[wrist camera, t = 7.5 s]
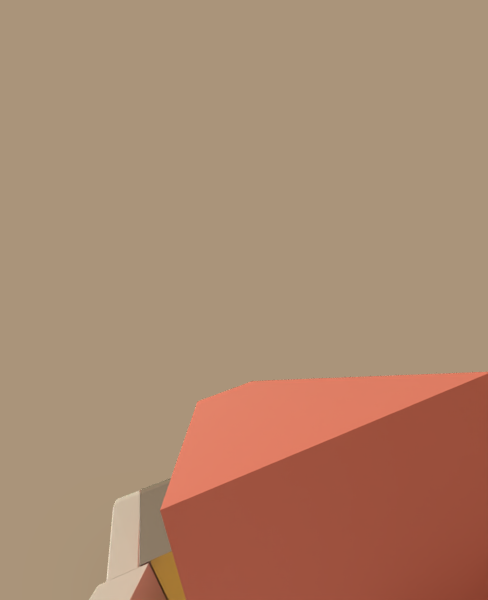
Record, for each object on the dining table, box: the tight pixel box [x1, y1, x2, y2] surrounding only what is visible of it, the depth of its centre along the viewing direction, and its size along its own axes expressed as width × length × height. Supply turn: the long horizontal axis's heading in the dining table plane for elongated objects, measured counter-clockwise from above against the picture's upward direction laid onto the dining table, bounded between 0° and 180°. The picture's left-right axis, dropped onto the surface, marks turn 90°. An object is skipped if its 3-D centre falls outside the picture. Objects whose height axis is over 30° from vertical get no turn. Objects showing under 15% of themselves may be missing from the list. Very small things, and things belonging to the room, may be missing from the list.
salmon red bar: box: [160, 372, 488, 600], centre depth 14 cm, size 4×22×3 cm, turn 6°
